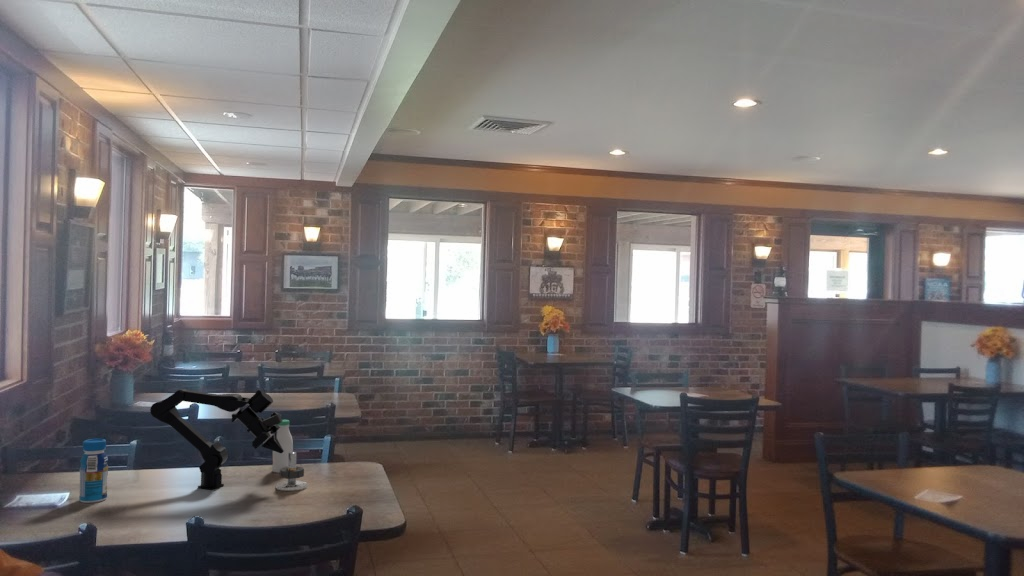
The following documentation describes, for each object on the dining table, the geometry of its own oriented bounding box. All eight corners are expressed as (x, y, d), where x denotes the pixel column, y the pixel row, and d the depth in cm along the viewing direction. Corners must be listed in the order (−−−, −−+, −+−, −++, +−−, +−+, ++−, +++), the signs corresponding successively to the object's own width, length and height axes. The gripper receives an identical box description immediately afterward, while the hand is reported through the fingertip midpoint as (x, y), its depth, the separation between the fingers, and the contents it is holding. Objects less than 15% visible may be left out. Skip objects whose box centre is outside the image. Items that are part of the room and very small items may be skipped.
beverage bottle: (72, 501, 246) (74, 441, 246) (94, 495, 254) (96, 436, 254) (91, 504, 244) (93, 443, 244) (113, 498, 252) (114, 439, 252)
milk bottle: (296, 470, 295) (297, 420, 295) (281, 474, 288) (282, 422, 288) (283, 467, 299) (284, 417, 299) (267, 471, 292) (269, 420, 292)
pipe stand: (269, 489, 267) (270, 454, 267) (288, 481, 277) (289, 448, 277) (294, 492, 263) (295, 457, 263) (313, 485, 274) (314, 451, 274)
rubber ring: (275, 477, 268) (275, 470, 268) (289, 472, 275) (289, 465, 275) (294, 479, 265) (294, 472, 265) (307, 474, 273) (307, 467, 273)
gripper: (262, 410, 260) (293, 442, 261) (274, 402, 279) (304, 431, 280) (238, 432, 260) (270, 464, 261) (252, 423, 278) (282, 452, 279)
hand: (282, 452), depth 270 cm, fingers closed
